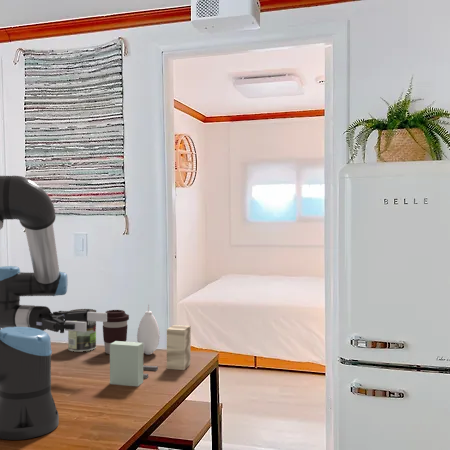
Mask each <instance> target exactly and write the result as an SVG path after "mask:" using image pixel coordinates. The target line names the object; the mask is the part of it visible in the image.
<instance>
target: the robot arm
mask: <svg viewBox="0 0 450 450" xmlns="http://www.w3.org/2000/svg"><path fill="white" fill-rule="evenodd" d="M5 220H17V221H18V220H19V223H20V225H21V226H22V227H23V228H24V229H25V234H26V240H27V245H28V250H29V255H30V261H31V265H32V271H33V272H24V271H23V272H22V271H21V270H20V267H19V266H16V265H15V266H14V265H7V266H6V265H4V266H0V440H1V439H2V440H7V441H16V440H17V441H19V440H21V441H22V440H27V439H33V438H38V437H41V436H44V435H46V434H49V433H51V432H53V431H55V429H56V428H58V426H59V424H60V421H59V420H60V419H59V417H60V416H59V412H58V410H57V406H56V403H55V400H54V398H53V394H52V370H51V369H52V354H53V351H52V344H51V342H52V341H51V337H50V335H49V333H48V332H46V330H47V331H50V332H51V331H52V332H56V333H60V334H65V332H66V331H81V332H86V331H87V322H78V320H87V321H96V322H102V323H103V322H107V313H105V312H98V311H96V312H90V310H89V309H90V308H86V309H87V310H83V311H70V310H58V311H52V312H51V309H50V308H49V307H48V306H46V305H45V306H43V305H32V304H31V305H30V304H20V302H21V297H56V296H64V295H66V294H67V293H68V283H69V282H68V274H67V273H66V272H63V271H60V268H59V267H60V265H59V259H58V254H57V253H58V250H57V245H56V238H55V236H56V235H55V231H54V223H55V221H56V210H55V206H54V203H53V201H52V200H51V197H50V196H49V195H48V193H47V192H46V191H45V189H43V188H42V187H41V186H40V185H39V184H37V183H36V182H35V181H33V180H31V179H29V178H27V177H25V176H20V175H0V230H1V229H3V227H4V221H5Z"/></svg>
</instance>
